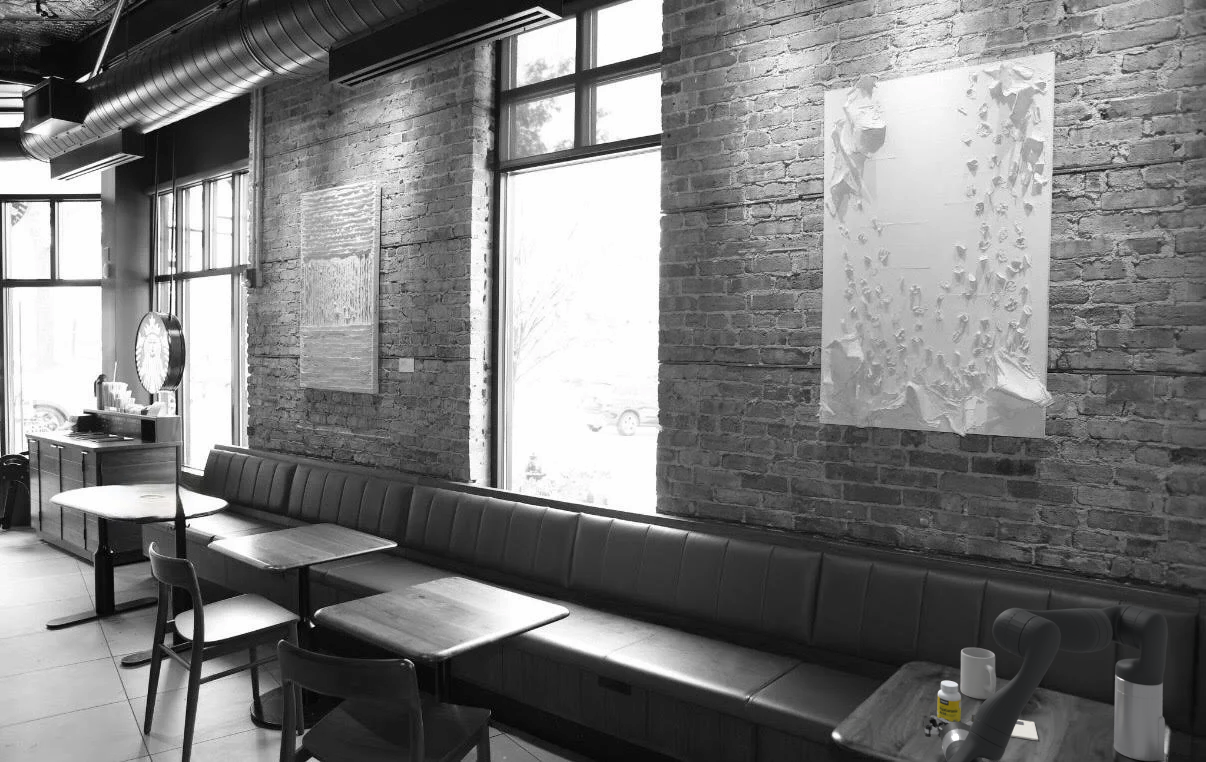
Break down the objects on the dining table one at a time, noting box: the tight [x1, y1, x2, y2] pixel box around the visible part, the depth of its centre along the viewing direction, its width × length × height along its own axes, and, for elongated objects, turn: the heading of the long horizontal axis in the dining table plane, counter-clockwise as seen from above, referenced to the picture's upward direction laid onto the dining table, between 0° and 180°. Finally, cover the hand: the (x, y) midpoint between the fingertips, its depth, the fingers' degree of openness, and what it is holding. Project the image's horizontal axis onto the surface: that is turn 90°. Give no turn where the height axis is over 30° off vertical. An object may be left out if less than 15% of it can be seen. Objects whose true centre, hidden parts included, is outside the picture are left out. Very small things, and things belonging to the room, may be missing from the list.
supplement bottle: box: [936, 680, 962, 722], centre depth 209 cm, size 5×5×10 cm
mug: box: [959, 647, 997, 700], centre depth 226 cm, size 12×8×11 cm
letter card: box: [1010, 719, 1039, 741], centre depth 207 cm, size 13×10×1 cm
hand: (953, 716), depth 199 cm, fingers open, 8 cm apart
